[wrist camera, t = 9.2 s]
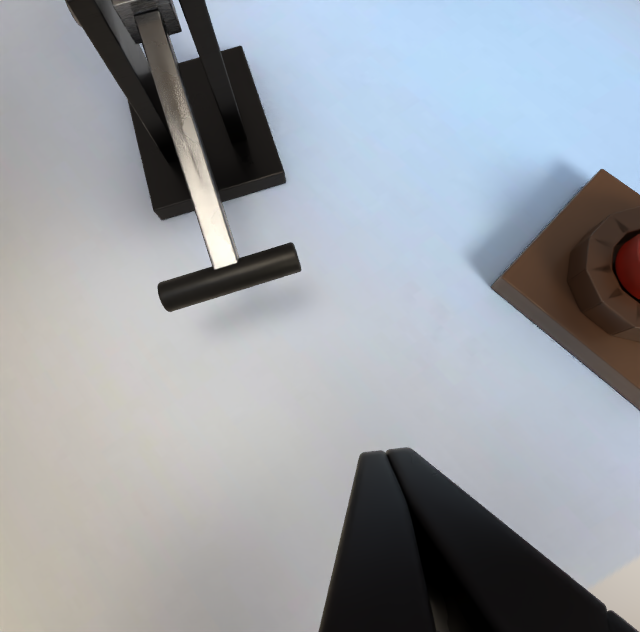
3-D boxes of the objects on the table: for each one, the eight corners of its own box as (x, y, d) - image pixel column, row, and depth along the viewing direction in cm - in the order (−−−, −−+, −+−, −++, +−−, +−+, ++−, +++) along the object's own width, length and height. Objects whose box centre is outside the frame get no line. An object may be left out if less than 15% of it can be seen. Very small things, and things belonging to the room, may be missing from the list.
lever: (301, 274, 20) (301, 267, 17) (176, 312, 20) (158, 311, 17) (204, -37, 20) (190, -87, 17) (76, -2, 20) (45, -48, 17)
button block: (738, 294, 24) (805, 271, 20) (644, 414, 22) (699, 411, 19) (585, 184, 26) (622, 147, 22) (489, 287, 24) (514, 263, 21)
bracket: (286, 183, 26) (251, 9, 16) (161, 220, 26) (35, 69, 15) (245, 60, 29) (190, -163, 18) (130, 92, 29) (5, -114, 18)
